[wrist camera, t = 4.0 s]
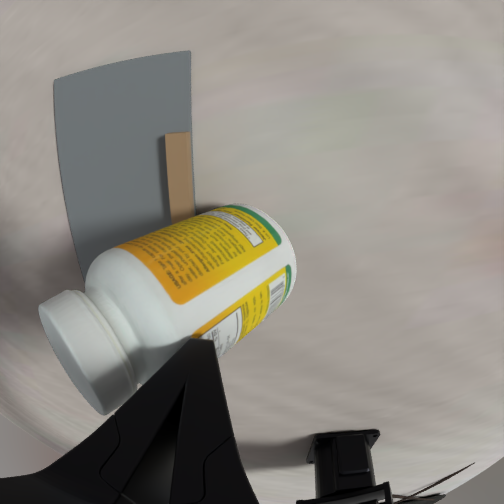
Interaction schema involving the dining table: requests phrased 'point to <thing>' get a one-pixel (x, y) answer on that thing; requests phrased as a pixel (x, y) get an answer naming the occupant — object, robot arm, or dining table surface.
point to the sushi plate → (429, 501)
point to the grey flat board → (125, 150)
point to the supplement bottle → (168, 299)
